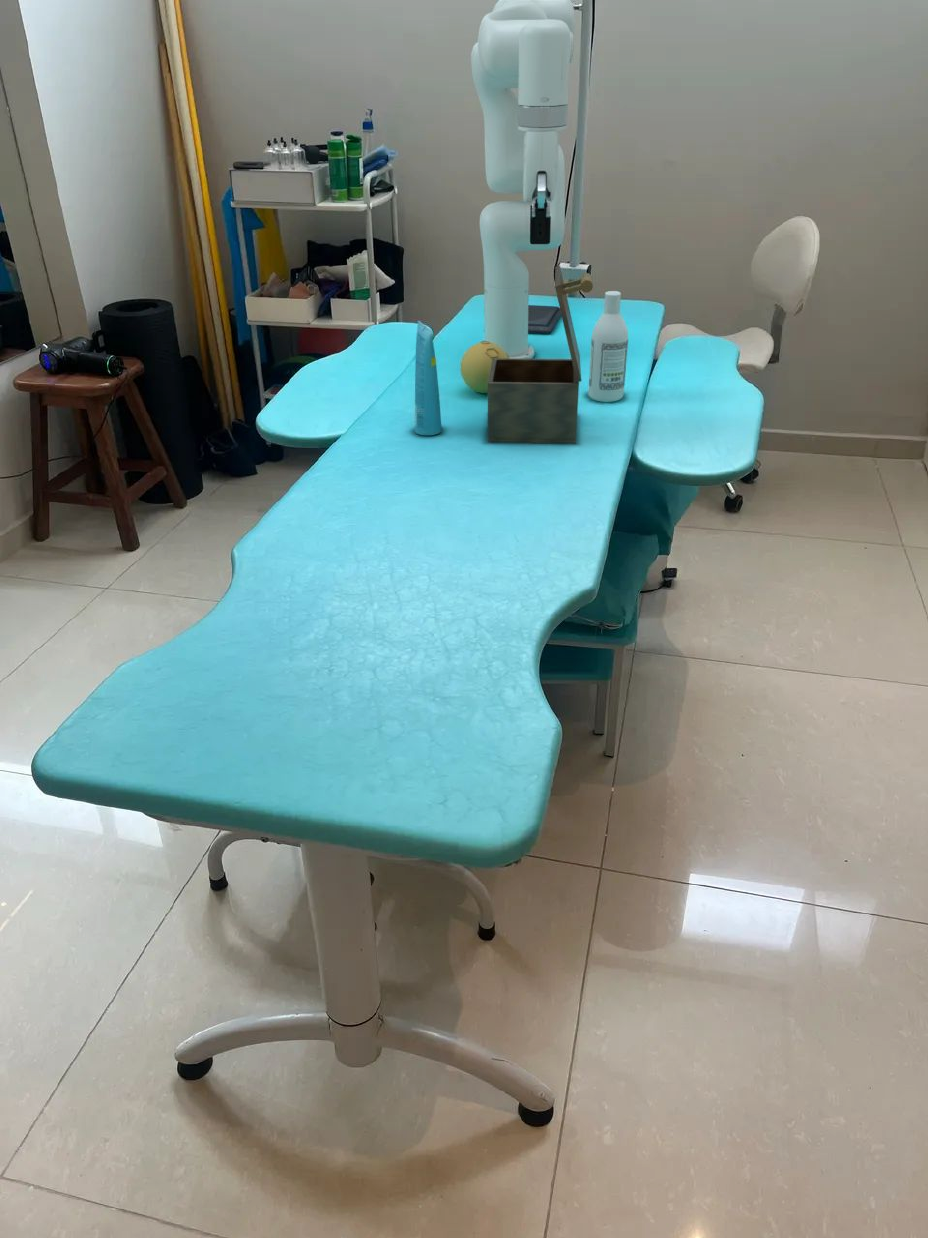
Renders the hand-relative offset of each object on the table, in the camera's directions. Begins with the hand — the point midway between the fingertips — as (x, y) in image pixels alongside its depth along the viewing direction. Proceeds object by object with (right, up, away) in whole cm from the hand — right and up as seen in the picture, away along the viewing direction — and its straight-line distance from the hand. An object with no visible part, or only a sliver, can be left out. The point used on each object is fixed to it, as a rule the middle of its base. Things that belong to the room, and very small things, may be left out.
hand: (539, 237), depth 149 cm
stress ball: (-8, -16, +36) cm, 40 cm away
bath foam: (+16, -18, +32) cm, 40 cm away
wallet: (+3, +11, +76) cm, 77 cm away
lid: (+5, -12, +8) cm, 15 cm away
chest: (0, -27, +19) cm, 33 cm away
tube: (-19, -28, +19) cm, 39 cm away
